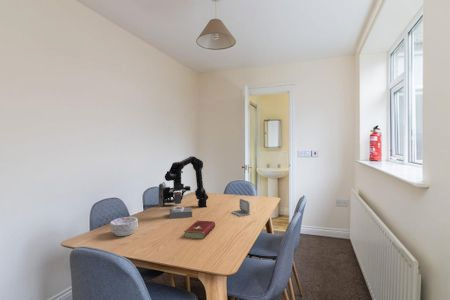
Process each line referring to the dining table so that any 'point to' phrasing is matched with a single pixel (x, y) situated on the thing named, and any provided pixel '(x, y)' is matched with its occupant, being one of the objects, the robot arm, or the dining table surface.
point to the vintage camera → (164, 195)
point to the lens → (177, 197)
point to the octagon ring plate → (180, 212)
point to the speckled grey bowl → (123, 226)
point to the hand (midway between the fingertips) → (177, 200)
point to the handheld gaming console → (243, 208)
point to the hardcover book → (200, 229)
